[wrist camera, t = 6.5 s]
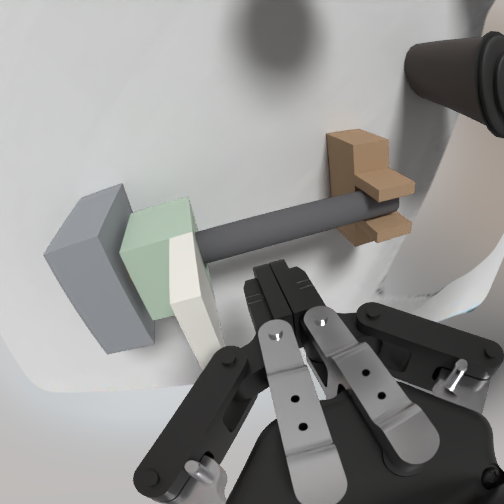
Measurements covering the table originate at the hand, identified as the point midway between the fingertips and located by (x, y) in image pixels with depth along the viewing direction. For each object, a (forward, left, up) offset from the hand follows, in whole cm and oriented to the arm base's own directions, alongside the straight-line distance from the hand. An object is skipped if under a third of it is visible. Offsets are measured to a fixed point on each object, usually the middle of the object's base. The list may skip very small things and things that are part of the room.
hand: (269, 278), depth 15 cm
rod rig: (0, 0, -10) cm, 10 cm away
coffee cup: (-19, -9, -10) cm, 23 cm away
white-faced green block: (+5, 0, -7) cm, 9 cm away
